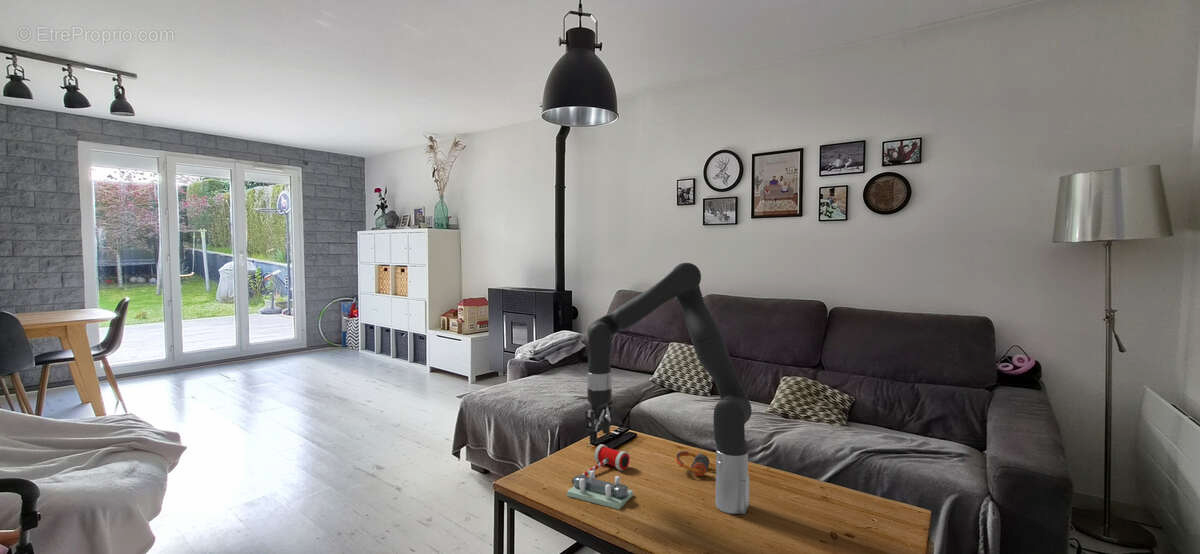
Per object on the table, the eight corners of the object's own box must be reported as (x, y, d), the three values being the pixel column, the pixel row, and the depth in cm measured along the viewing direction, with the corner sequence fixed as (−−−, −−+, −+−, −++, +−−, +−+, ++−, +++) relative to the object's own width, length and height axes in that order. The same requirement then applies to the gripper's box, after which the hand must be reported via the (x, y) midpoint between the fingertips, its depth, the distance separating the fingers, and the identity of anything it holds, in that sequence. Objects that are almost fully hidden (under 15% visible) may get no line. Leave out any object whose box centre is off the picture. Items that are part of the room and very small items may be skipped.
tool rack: (632, 495, 160) (632, 477, 160) (619, 509, 152) (619, 491, 151) (582, 483, 169) (582, 466, 169) (567, 496, 160) (566, 478, 160)
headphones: (733, 473, 182) (679, 453, 188) (737, 460, 181) (682, 440, 188) (728, 495, 166) (669, 472, 172) (732, 480, 165) (673, 458, 172)
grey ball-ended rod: (571, 487, 162) (571, 479, 162) (578, 481, 166) (578, 474, 166) (623, 500, 154) (624, 492, 154) (630, 494, 158) (630, 486, 158)
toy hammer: (587, 490, 164) (587, 471, 164) (561, 479, 172) (561, 461, 172) (630, 467, 182) (630, 449, 181) (605, 458, 189) (605, 441, 189)
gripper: (599, 379, 166) (599, 429, 167) (577, 390, 154) (578, 443, 154) (620, 382, 163) (620, 432, 164) (599, 393, 150) (600, 447, 151)
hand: (599, 437), depth 159 cm, fingers open, 8 cm apart
